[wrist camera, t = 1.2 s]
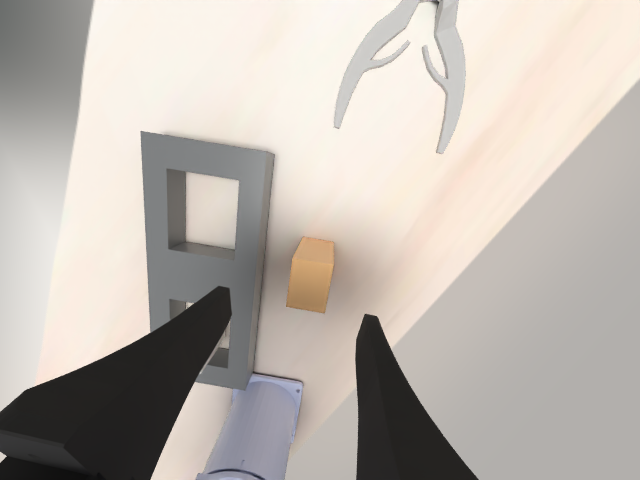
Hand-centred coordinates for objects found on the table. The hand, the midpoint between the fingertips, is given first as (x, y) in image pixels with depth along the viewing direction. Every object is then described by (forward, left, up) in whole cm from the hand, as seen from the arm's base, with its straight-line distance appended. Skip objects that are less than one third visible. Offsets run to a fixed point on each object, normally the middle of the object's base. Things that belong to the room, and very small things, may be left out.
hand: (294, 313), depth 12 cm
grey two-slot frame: (-4, +10, -11) cm, 15 cm away
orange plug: (-1, 0, -11) cm, 11 cm away
